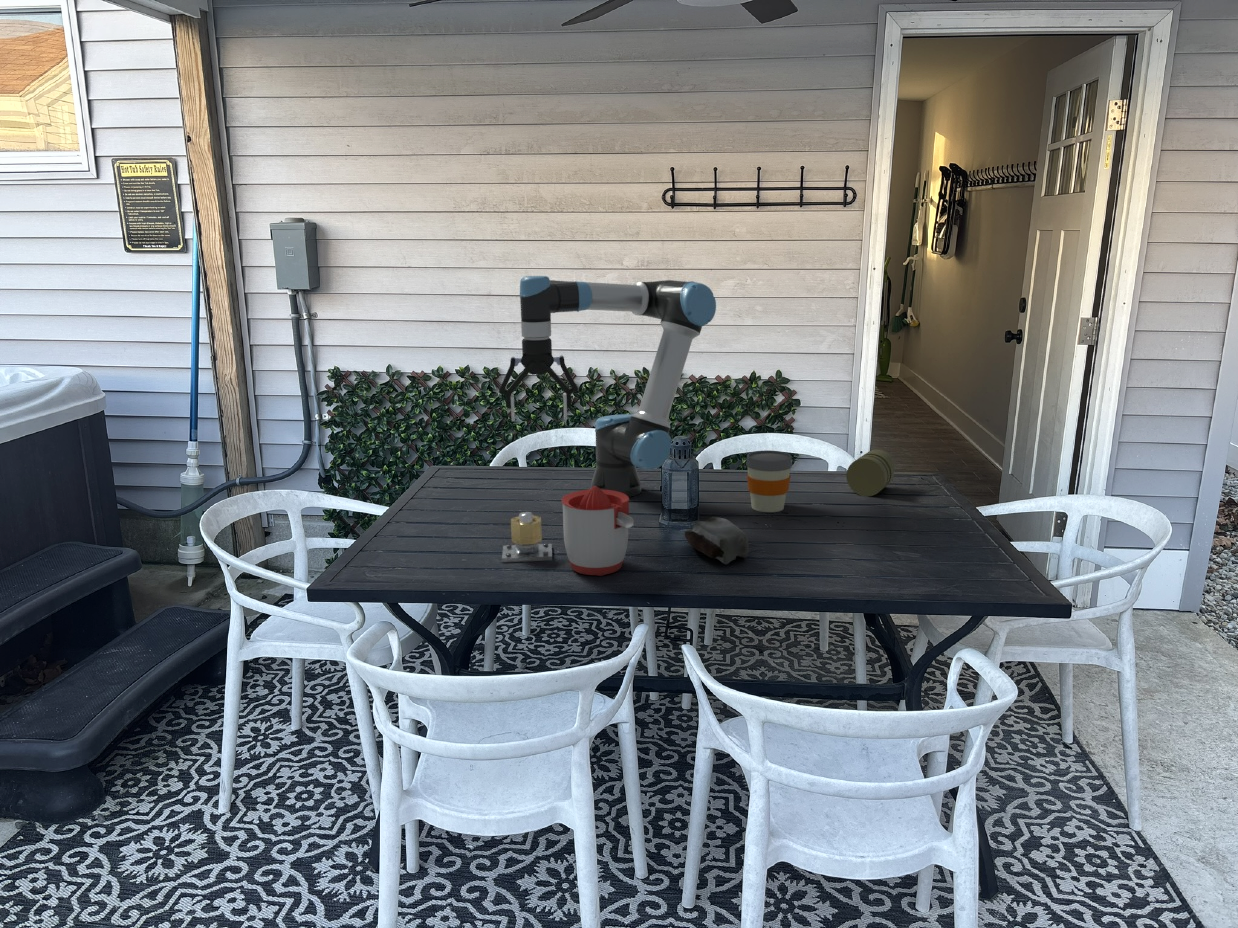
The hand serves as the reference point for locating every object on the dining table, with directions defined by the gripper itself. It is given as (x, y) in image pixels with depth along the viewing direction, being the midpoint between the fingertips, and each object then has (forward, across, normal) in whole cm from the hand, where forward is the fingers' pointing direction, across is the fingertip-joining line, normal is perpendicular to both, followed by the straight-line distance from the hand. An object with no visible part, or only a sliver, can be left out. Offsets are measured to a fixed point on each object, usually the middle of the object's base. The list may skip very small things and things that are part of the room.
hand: (539, 419), depth 243 cm
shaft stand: (+29, +4, +23) cm, 37 cm away
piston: (+29, -97, -19) cm, 103 cm away
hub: (+25, +4, +23) cm, 34 cm away
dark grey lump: (+29, -42, +29) cm, 58 cm away
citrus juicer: (+29, -13, +34) cm, 46 cm away
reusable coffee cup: (+29, -63, -7) cm, 70 cm away
